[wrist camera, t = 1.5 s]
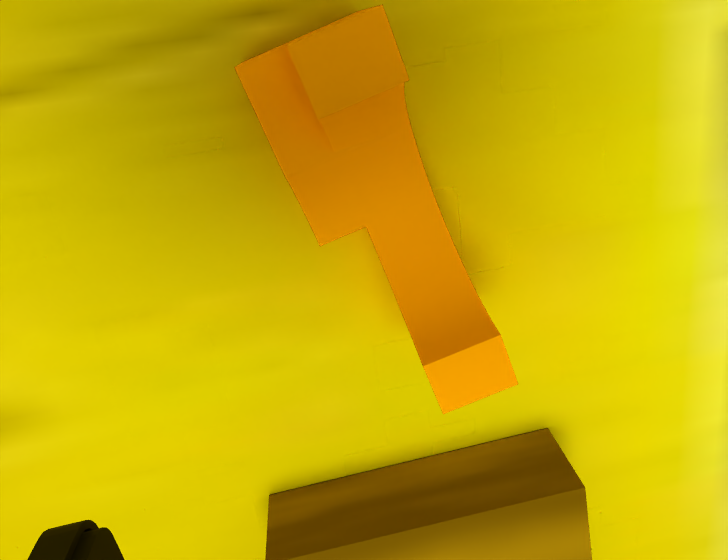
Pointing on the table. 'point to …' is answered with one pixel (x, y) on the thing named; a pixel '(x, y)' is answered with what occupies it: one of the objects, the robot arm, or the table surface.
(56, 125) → the table surface
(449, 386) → the pipe clamp
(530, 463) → the walnut block
